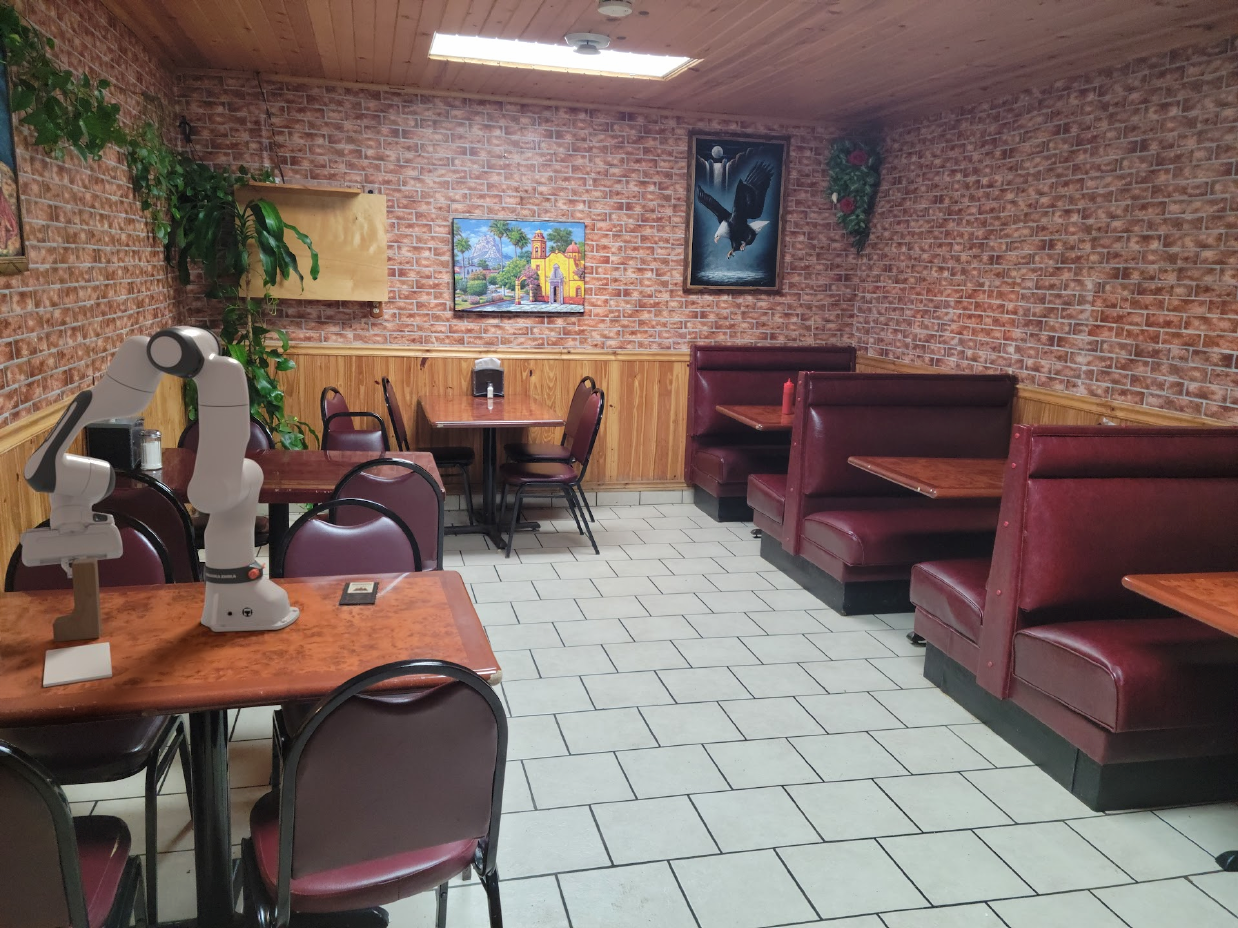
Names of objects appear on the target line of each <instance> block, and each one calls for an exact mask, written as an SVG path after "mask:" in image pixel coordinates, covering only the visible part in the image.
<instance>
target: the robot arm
mask: <svg viewBox="0 0 1238 928" xmlns="http://www.w3.org/2000/svg"><path fill="white" fill-rule="evenodd" d="M222 353H223V347H222V343H221V341H220V339H219V337H218V336H217V335H216V334H215V333H214V332H212V330H210V329H207V328H204V327H200V326H190V325H177V326H173V327H172V326H171V327H170V326H169V327H164V328H161V329H159V330H157V331H156V332H155V333H153V335H152V336H151V337H150V336H146V335H140V334H139V335H132V336H129V337H128V338H126V339H125V340H124V341H123V342H122V344H121V346H120V347H119V348H118V349H117V352H116V353H115V355H114V356H113V357H112V359H111V361H110V363H109V365H108V367H107V369H106V372H105V373H104V375H103V377H102V378H101V379H100V380H99V382H97V383H96V384H95V385H94V386H93V387H91V388H89V389H85V390H82V391H80V392H78V394H77V395H76V396H74V398H73V399H72V400H71V402H70V403H69V404H68V406H67V407H66V408H65V410H64V411H63V413H62V414H61V416H60V417H59V419H58V420H57V421H56V423H55V425H54V426H53V428H52V429H51V430H50V432H49V433H48V434H47V436H46V437H45V439H44V440H43V442H42V443H40V445H39V447H37V448H36V449H35V450H34V452H33V453H32V454H30V457H28V459H27V461H26V463H25V465H24V468H23V470H24V471H23V478H24V480H25V481H26V483H27V485H28V486H29V487H30V488H31V489H33V491H35V492H36V493H43V494H44V493H46V494H48V500H49V501H48V502H49V505H50V507H51V510H50V513H49V524H50V525H49V527H48V526H47V527H40V528H28V529H27V530H25V531H23V532H22V533H20V535H19V542H20V544H21V546H22V549H21V560H22V561H21V562H22V563H23V564H24V566H25V567H29V568H30V567H37V566H40V567H41V566H47V565H57V564H60V565H61V568H62V569H63V570H64V571H65V572H66V574H67V579H73V577H72V567H70V565H69V563H73V562H74V560H75V559H82V558H97V561H99V560H110V559H119V558H120V557H121V556H123V554H124V553H123V552H124V550H123V549H124V548H123V540H122V537H121V533H120V531H119V529H118V527H117V526H116V525H115V519H114V516H113V515H112V514H110V513H109V514H108V513H104V512H102V513H101V512H98V511H97V512H96V511H93V510H92V509H93V508H92V506H93V505H94V504H98V503H100V502H101V501H103V500H104V499H106V498H107V497H109V496H110V495H111V494H112V492H113V491H114V489H115V486H116V473H115V469H114V468H113V466H112V465H111V463H110V462H109V461H107V460H103V459H99V458H94V457H91V456H84V455H78V454H74V453H68V452H67V451H68V450H69V448H70V447H71V445H72V443H74V442H73V441H74V440H75V439H76V438H77V436H78V435H79V434H80V431H82V429H83V428H84V427H86V426H88V425H89V424H92V423H95V422H98V421H99V422H100V421H105V420H113V419H114V420H115V419H126V418H131V417H134V416H137V415H139V414H141V413H143V412H144V411H145V410H146V409H147V408H148V407H149V405H150V404H151V402H152V400H153V398H154V397H155V396H154V395H155V394H156V392H157V390H158V387H159V385H160V382H161V380H162V379H163V377H164V375H166V374H167V375H171V376H174V377H178V378H180V379H183V380H186V381H187V380H189V381H190V380H193V381H194V383H195V386H196V387H197V403H198V404H197V405H198V407H197V408H198V423H199V424H198V432H199V437H198V446H197V451H196V456H195V457H196V458H195V464H194V469H193V473H192V476H191V480H190V481H189V483H188V485H187V491H186V493H187V494H186V495H187V498H188V500H189V503H190V505H192V507H193V508H195V510H197V511H199V512H201V513H204V514H209V518H208V522H207V524H206V528H205V530H204V534H203V535H204V557H205V559H204V561H205V563H204V564H203V581H204V587H205V594H204V595H205V596H204V603H203V605H204V606H203V609H202V615H201V618H200V623H201V624H202V625H204V626H205V627H208V628H209V629H210V630H211V631H212V632H217V633H218V632H219V633H220V632H243V631H245V632H246V631H247V632H248V631H267V630H268V631H269V630H270V631H271V630H275V631H276V630H281V629H284V628H286V627H288V626H290V625H291V624H293V623H294V622H296V620H298V618H299V617H300V609H299V608H298V607H295V606H291V604H290V599H289V596H288V592H287V591H286V590H285V589H284V588H282V587H281V586H279V585H278V584H276V583H275V582H273V581H272V580H270V579H269V578H268V577H265V576H264V569H265V568H266V566H265V565H266V563H263V564H260V563H259V562H258V561H257V560H256V557H255V553H256V552H255V550H256V549H255V525H256V517H257V512H258V505H259V497H260V492H261V488H262V486H263V483H264V479H265V478H264V477H265V476H264V473H263V470H262V468H261V466H260V465H259V464H258V463H257V462H256V461H255V460H253V459H250V458H246V457H245V456H246V451H247V447H248V444H249V441H250V439H251V419H250V418H251V417H250V394H249V387H248V380H247V375H246V373H245V371H246V370H245V369H244V366H243V364H242V363H241V362H240V361H239V360H237V359H235V358H233V357H229V356H225V355H224V356H222Z"/></svg>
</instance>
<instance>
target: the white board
mask: <svg viewBox="0 0 1238 928" xmlns="http://www.w3.org/2000/svg"><path fill="white" fill-rule="evenodd" d="M110 646H111V645H110V642H108V641H107V642H101V643H94V644H87V645H86V644H85V645H79V646H78V645H77V646H72V647H64V648H57V649H48V650H46V651H45V662H44V671H43V684H42V686H43V688H46V687H47V688H48V687H55V686H60V685H67V684H74V683H78V682H86V681H94V680H99V679H107V678H111V677H113V670H112V669H113V668H112V660H111V659H112V658H111V657H112V656H111V648H110Z"/></svg>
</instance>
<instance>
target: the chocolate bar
mask: <svg viewBox="0 0 1238 928" xmlns="http://www.w3.org/2000/svg"><path fill="white" fill-rule="evenodd" d="M378 585H379V586H380V582H379V581H374V582H373V581H369V582H365V581H364V582H345V583H344V587H343V590H342V593H341V595H340V599H339V601H338V606H339V605H346V606H361V605H360V604H375V605H376V601H375V600H377V596H376V595H378V591H379V587H378ZM377 590H378V591H377ZM358 604H359V605H358Z"/></svg>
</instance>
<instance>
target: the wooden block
mask: <svg viewBox="0 0 1238 928" xmlns="http://www.w3.org/2000/svg"><path fill="white" fill-rule="evenodd" d="M98 565H99V564H98V560H97V558H82V559H75V560H74V562H71V568H72V577H73V578H72V586H73V587H72V589H73V590H72V592H73V602H74V606H73V607H74V608H73V611H71V612H70V613H69V614H66V615H62V616H57V617H56V618H55V619H54V621H53V624H52V633H53V642H55V643H57V642H58V643H59V642H60V641H61V642H71V641H79V640H80V641H81V640H93V639H99V638H100V636H101V634H102V632H103V628H102V627H103V626H102V612H101V599H100V598H101V596H100V583H99V581H100V580H99V567H98Z"/></svg>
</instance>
